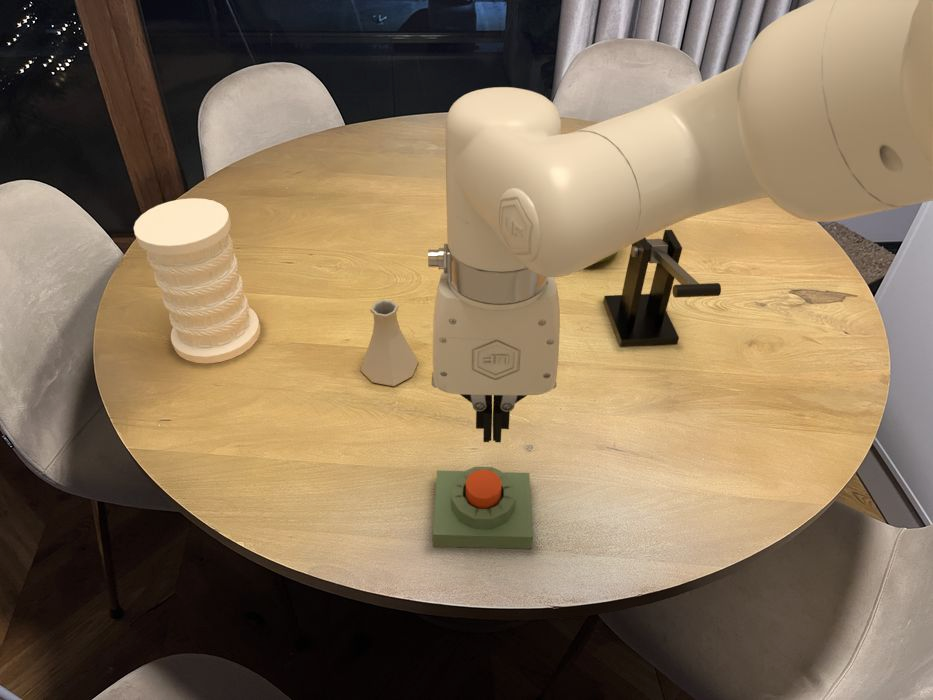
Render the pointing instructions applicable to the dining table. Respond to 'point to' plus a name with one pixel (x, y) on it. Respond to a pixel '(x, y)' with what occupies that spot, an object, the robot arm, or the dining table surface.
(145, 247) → the decorative container
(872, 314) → the dining table surface
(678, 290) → the lever
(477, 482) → the stop button
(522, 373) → the robot arm
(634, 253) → the switch bracket
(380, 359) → the flask
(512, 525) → the button block
